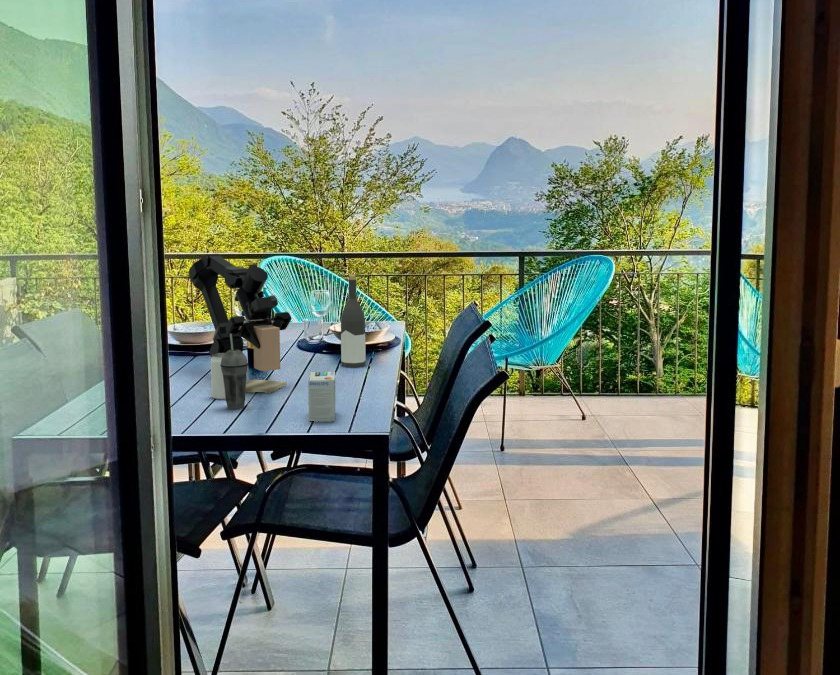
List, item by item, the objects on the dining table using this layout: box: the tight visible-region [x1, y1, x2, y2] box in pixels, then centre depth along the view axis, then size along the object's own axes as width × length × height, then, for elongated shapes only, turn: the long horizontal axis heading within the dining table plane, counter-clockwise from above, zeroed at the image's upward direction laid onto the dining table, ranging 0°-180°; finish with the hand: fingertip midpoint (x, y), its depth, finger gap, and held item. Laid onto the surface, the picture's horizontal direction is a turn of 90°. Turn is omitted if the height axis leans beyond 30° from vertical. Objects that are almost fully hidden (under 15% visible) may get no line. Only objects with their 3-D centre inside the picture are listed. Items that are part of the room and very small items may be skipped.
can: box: [210, 353, 226, 400], centre depth 243 cm, size 6×6×12 cm
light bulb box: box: [307, 371, 336, 423], centre depth 222 cm, size 11×7×11 cm, turn 5°
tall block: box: [253, 325, 281, 372], centre depth 249 cm, size 6×6×12 cm
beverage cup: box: [220, 334, 249, 410], centre depth 231 cm, size 7×7×20 cm
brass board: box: [245, 378, 287, 394], centre depth 255 cm, size 11×11×1 cm
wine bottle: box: [340, 274, 367, 369], centre depth 287 cm, size 8×8×30 cm
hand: (269, 346), depth 248 cm, fingers closed on tall block, 5 cm apart
